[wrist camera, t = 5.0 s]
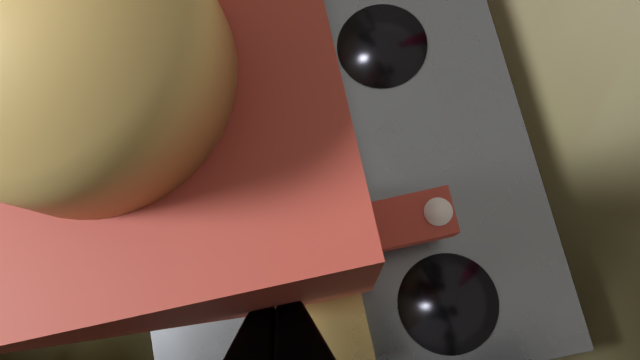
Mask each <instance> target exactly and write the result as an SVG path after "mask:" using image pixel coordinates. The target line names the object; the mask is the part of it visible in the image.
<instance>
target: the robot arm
mask: <svg viewBox="0 0 640 360" xmlns="http://www.w3.org/2000/svg"><path fill="white" fill-rule="evenodd" d="M223 360H336V358H335V357H334V355H333V353H332V351H331V350H330V348H329V346H328V345H327V343H326V341H325V340H324V338H323V336H322V335H321V333H320V331H319V329H318V328H317V326H316V324H315V323H314V321H313V319H312V318H311V316H310V314H309V313H308V311H307V309H306V307H305V306H304V304H303V303H302V302H301V301H297V302H292V303H288V304H283V305H278V306H277V307H276V308H275V307H269V308H264V309H260V310H255V311H251V312H249V313H248V314H247V315H246V317H245V319H244V321H243V323H242V325H241V327H240V328H239V330H238V332H237V334H236V336H235V338H234V340H233V342H232V343H231V345H230V347H229V349H228V351H227V353H226V355H225V357H224V358H223Z"/></svg>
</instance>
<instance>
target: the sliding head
mask: <svg viewBox="0 0 640 360" xmlns="http://www.w3.org/2000/svg"><path fill="white" fill-rule="evenodd" d="M459 233H460V228H459V224H458V221H457V217H456V213H455V209H454V206H453V202H452V198H451V195H450V191H449V187H448V185H445V186H440V187H436V188H432V189H427V190H423V191H418V192H414V193H409V194H405V195H400V196H396V197H391V198H387V199H382V200H378V201H373V202H371V200H370V196H369V191H368V187H367V183H366V179H365V174H364V170H363V166H362V162H361V157H360V153H359V149H358V145H357V140H356V136H355V132H354V128H353V123H352V119H351V115H350V111H349V106H348V102H347V98H346V94H345V89H344V85H343V81H342V77H341V72H340V68H339V64H338V60H337V55H336V51H335V47H334V43H333V38H332V34H331V30H330V25H329V21H328V17H327V13H326V8H325V4H324V0H0V354H3V353H10V352H16V351H23V350H30V349H36V348H43V347H49V346H56V345H63V344H69V343H76V342H83V341H89V340H96V339H103V338H109V337H116V336H123V335H129V334H136V333H143V332H149V331H156V330H163V329H169V328H176V327H183V326H189V325H196V324H202V323H209V322H216V321H222V320H229V319H236V318H242V317H246V315H247V314H248V313H249V312H251V311H255V310H260V309H264V308H269V307H275V308H276V307H277V306H278V305H283V304H288V303H292V302H297V301H301V302H302V303H303V304H304V305H308V304H313V303H318V302H322V301H327V300H331V299H336V298H341V297H345V296H350V295H355V294H359V293H364V292H368V291H372V290H373V287H374V285H375V283H376V281H377V278H378V276H379V274H380V272H381V270H382V267H383V265H384V263H385V259H384V255H383V252H386V251H391V250H395V249H400V248H404V247H409V246H413V245H418V244H422V243H427V242H432V241H436V240H441V239H445V238H450V237H454V236H456V235H457V234H459Z"/></svg>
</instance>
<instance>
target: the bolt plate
mask: <svg viewBox="0 0 640 360" xmlns="http://www.w3.org/2000/svg"><path fill="white" fill-rule="evenodd" d="M324 4H325V8H326V13H327V17H328V21H329V25H330V30H331V34H332V38H333V43H334V47H335V51H336V55H337V60H338V64H339V68H340V72H341V77H342V81H343V85H344V89H345V94H346V98H347V102H348V106H349V111H350V115H351V119H352V123H353V128H354V132H355V136H356V140H357V145H358V149H359V153H360V157H361V162H362V166H363V170H364V174H365V179H366V183H367V187H368V191H369V196H370V200H371V202H373V201H378V200H382V199H387V198H391V197H396V196H400V195H405V194H409V193H414V192H418V191H423V190H427V189H432V188H436V187H440V186H445V185H448V187H449V191H450V195H451V198H452V202H453V206H454V209H455V213H456V217H457V221H458V224H459V228H460V233H459V234H457V235H456V236H454V237H450V238H445V239H441V240H436V241H432V242H427V243H422V244H418V245H413V246H409V247H404V248H400V249H395V250H391V251H386V252H383V255H384V259H385V263H384V265H383V267H382V270H381V272H380V274H379V276H378V278H377V281H376V283H375V285H374V287H373V290H372V291H368V292H364V293H359V294H355V295H350V296H345V297H341V298H336V299H331V300H327V301H322V302H318V303H313V304H308V305H304V306H305V307H306V309H307V311H308V313H309V314H310V316H311V318H312V319H313V321H314V323H315V324H316V326H317V328H318V329H319V331H320V333H321V335H322V336H323V338H324V340H325V341H326V343H327V345H328V346H329V348H330V350H331V351H332V353H333V355H334V357H335V358H336V360H550V359H555V358H560V357H565V356H569V355H574V354H579V353H584V352H588V351H593V350H594V348H593V345H592V341H591V338H590V335H589V332H588V328H587V325H586V322H585V319H584V315H583V312H582V309H581V306H580V302H579V299H578V296H577V293H576V289H575V286H574V283H573V280H572V276H571V273H570V270H569V267H568V263H567V260H566V257H565V254H564V250H563V247H562V244H561V241H560V237H559V234H558V231H557V228H556V224H555V221H554V218H553V215H552V211H551V208H550V205H549V202H548V198H547V195H546V192H545V189H544V185H543V182H542V179H541V176H540V172H539V169H538V166H537V163H536V159H535V156H534V153H533V150H532V146H531V143H530V140H529V137H528V133H527V130H526V127H525V124H524V120H523V117H522V114H521V111H520V107H519V104H518V101H517V98H516V94H515V91H514V88H513V85H512V81H511V78H510V75H509V72H508V68H507V65H506V62H505V59H504V55H503V52H502V49H501V46H500V42H499V39H498V36H497V33H496V29H495V26H494V23H493V20H492V16H491V13H490V10H489V7H488V3H487V0H324ZM244 319H245V317H242V318H236V319H229V320H222V321H216V322H209V323H202V324H196V325H189V326H183V327H176V328H169V329H163V330H156V331H151V339H152V346H153V353H154V360H223V358H224V357H225V355H226V353H227V351H228V349H229V347H230V345H231V343H232V342H233V340H234V338H235V336H236V334H237V332H238V330H239V328H240V327H241V325H242V323H243V321H244Z"/></svg>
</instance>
